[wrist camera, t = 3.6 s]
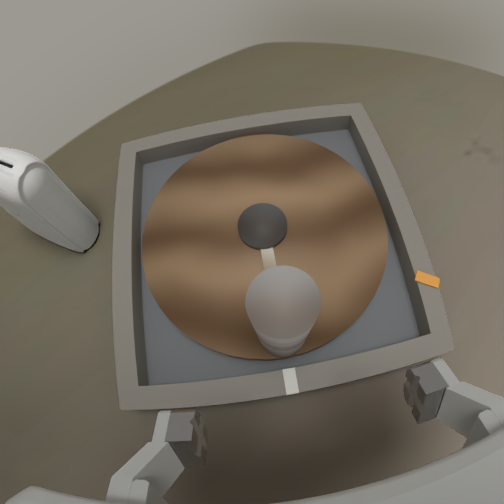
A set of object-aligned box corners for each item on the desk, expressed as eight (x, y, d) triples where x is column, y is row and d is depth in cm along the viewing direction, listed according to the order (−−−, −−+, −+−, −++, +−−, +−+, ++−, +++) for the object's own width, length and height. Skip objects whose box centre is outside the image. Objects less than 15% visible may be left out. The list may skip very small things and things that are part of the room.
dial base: (138, 408, 22) (118, 410, 19) (132, 163, 32) (120, 142, 29) (438, 353, 22) (458, 348, 19) (357, 124, 32) (363, 101, 28)
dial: (149, 167, 30) (106, 86, 20) (343, 134, 29) (358, 43, 20) (156, 375, 22) (74, 362, 12) (409, 329, 22) (486, 287, 12)
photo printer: (28, 232, 30) (-43, 172, 19) (46, 200, 32) (-17, 134, 20) (87, 260, 28) (3, 191, 17) (107, 221, 29) (37, 141, 18)
